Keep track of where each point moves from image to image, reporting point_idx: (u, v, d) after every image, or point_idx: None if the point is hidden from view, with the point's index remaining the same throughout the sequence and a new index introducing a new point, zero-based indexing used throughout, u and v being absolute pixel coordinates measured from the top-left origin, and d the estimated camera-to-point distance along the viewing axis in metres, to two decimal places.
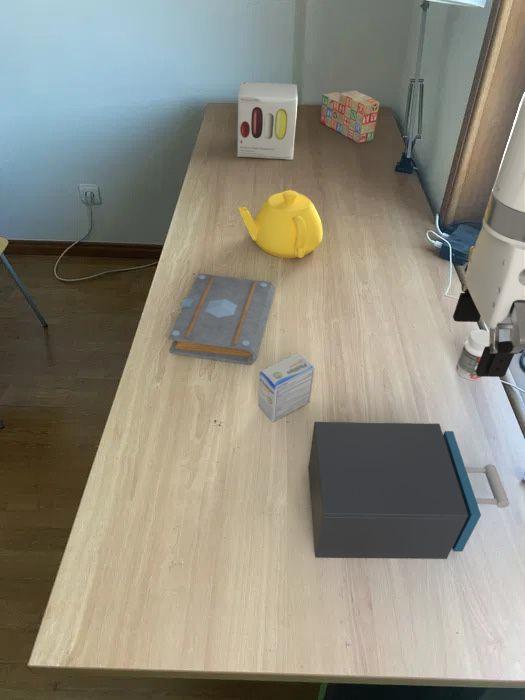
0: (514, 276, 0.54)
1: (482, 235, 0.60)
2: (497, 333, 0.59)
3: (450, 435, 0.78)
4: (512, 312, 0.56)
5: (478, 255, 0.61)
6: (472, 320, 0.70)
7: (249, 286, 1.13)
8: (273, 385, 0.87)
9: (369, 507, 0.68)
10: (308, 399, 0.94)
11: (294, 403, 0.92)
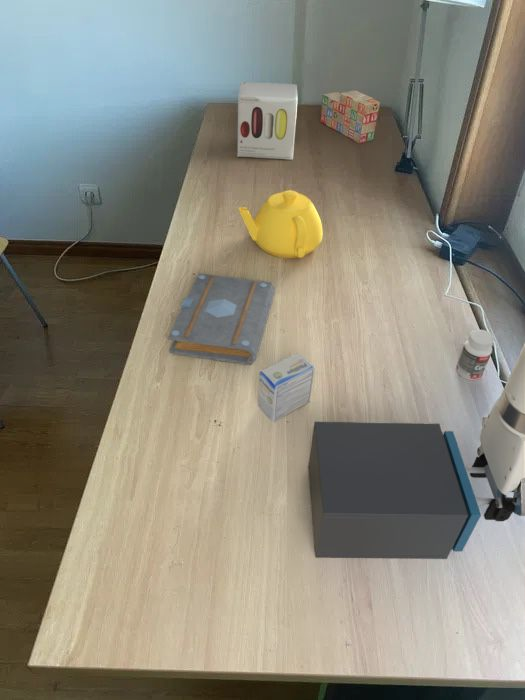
0: (523, 461, 0.65)
1: (495, 412, 0.71)
2: (503, 495, 0.71)
3: (450, 435, 0.78)
4: (518, 485, 0.68)
5: (492, 427, 0.72)
6: None
7: (248, 286, 1.13)
8: (273, 385, 0.87)
9: (369, 507, 0.68)
10: (308, 399, 0.94)
11: (294, 403, 0.92)
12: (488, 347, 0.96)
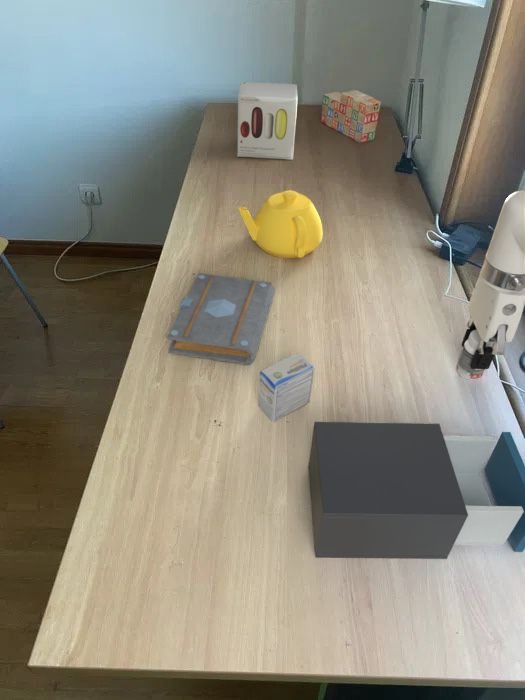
0: (499, 310, 0.87)
1: (479, 281, 0.93)
2: (485, 344, 0.93)
3: (508, 436, 0.79)
4: (496, 332, 0.90)
5: (477, 294, 0.93)
6: None
7: (248, 286, 1.13)
8: (273, 385, 0.87)
9: (369, 507, 0.68)
10: (308, 399, 0.94)
11: (294, 403, 0.92)
12: None
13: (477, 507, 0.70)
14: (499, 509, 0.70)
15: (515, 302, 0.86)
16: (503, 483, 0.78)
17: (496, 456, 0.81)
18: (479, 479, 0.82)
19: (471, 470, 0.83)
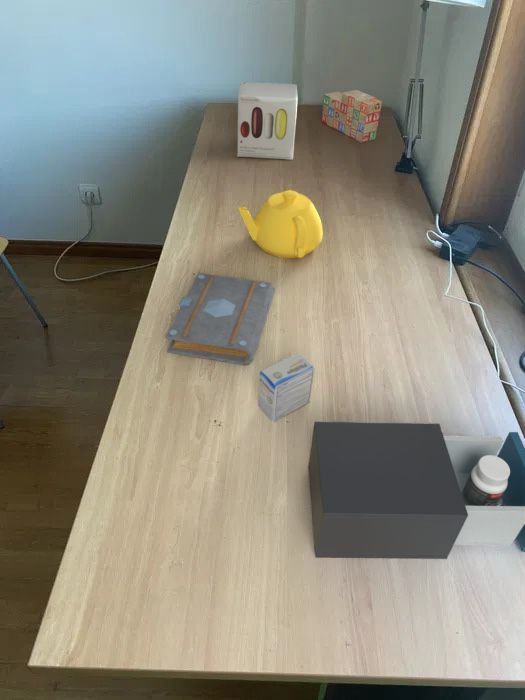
0: None
1: None
2: None
3: (515, 436, 0.79)
4: None
5: None
6: None
7: (248, 287, 1.13)
8: (273, 385, 0.87)
9: (369, 507, 0.68)
10: (308, 399, 0.94)
11: (294, 403, 0.92)
12: (502, 482, 0.73)
13: (485, 507, 0.70)
14: (507, 509, 0.70)
15: None
16: (511, 483, 0.78)
17: (503, 457, 0.81)
18: None
19: None
